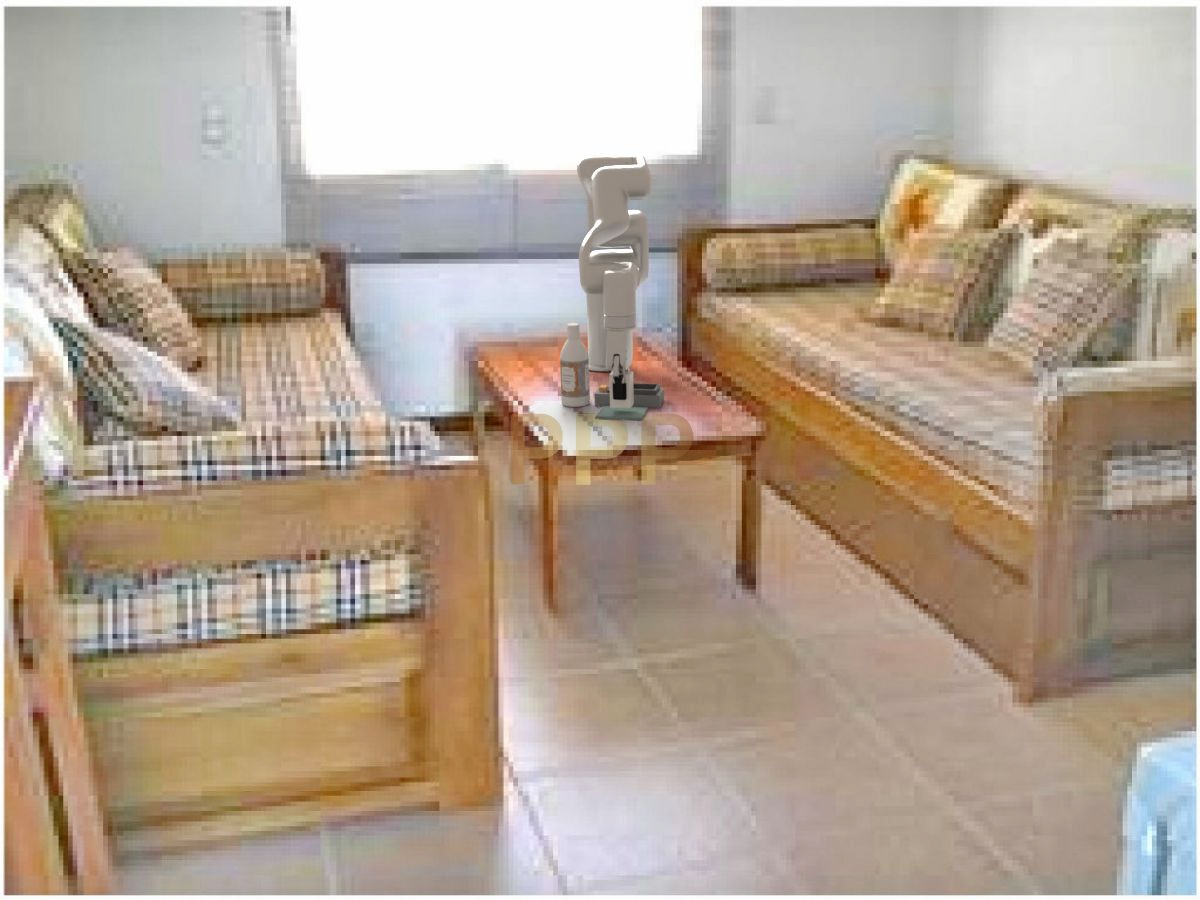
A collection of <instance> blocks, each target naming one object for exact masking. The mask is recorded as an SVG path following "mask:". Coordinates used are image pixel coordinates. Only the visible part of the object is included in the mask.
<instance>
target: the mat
mask: <svg viewBox="0 0 1200 900" xmlns="http://www.w3.org/2000/svg"><path fill="white" fill-rule="evenodd" d="M648 411H649V407H631V408H614V407H610V406H601V408H600V410H599V411H598V412H597V414H596V415H595V419H596V418H599V420H600V419H601V420H622V419H624V420H625V421H627V420H628V421H630V420H631V421H642V420H643V418H644V417H645V416H646V413H647V412H648Z"/></svg>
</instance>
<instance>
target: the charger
mask: <svg viewBox="0 0 1200 900" xmlns="http://www.w3.org/2000/svg"><path fill="white" fill-rule="evenodd" d="M622 369H623V368H619V370H622ZM620 374H621V376H622V373H620ZM608 379H609V380H608V381H609V387H610V407H614V408H631V407H632V405H633V404H634V388H633V383H634V370H629V371H625V383H626V392H627V398H626V400H614V399H613V371H610V373H609V374H608Z"/></svg>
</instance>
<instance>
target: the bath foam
mask: <svg viewBox="0 0 1200 900" xmlns="http://www.w3.org/2000/svg"><path fill="white" fill-rule="evenodd" d="M566 326H567V327H566V328H567V339H566V341H565V342H564V344H563V346H562V348H561V351H560V355H559V356H560V357H559V362H560V364H559V366H560V369H559V370H560V390H561V391H560V392H561V404H562V405H563V406H565V407H568V408H569V407H570V408H579V407H580V408H581V407H585V406H587V405H589V404H590V402H591V396H590V394H591V392H590V370H589V357H588V348H587V347H586V345H585V344H584V342H583V341H582V340H581V337H580V335H581V334H580V323H576V322H569V323H567V325H566Z"/></svg>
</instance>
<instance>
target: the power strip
mask: <svg viewBox="0 0 1200 900" xmlns="http://www.w3.org/2000/svg"><path fill="white" fill-rule="evenodd" d="M633 388H634V404H633V405H632V407H648V408H659V409H660V408H661V406H662V405H663V403H664V401H665V388H664V387H661V383H647V382H646V383H644V382H641V383H640V382H638V383H636V382H633ZM594 406H595V407H596V406H598V407H603V406H610V386H608V384H600V386H599V388H598V389H597V390H596V392H594Z"/></svg>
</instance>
